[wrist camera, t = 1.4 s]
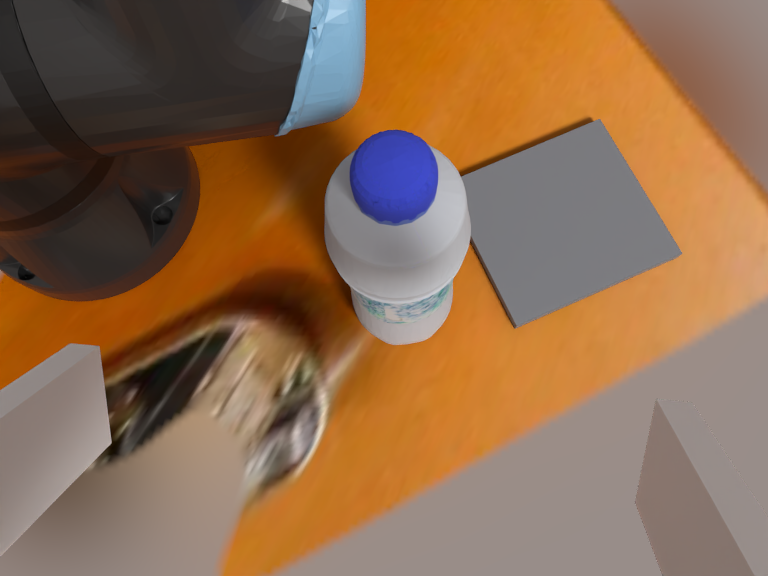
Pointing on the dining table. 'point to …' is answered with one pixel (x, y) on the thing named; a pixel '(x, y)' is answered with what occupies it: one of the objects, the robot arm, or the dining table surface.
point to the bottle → (398, 234)
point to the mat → (563, 223)
